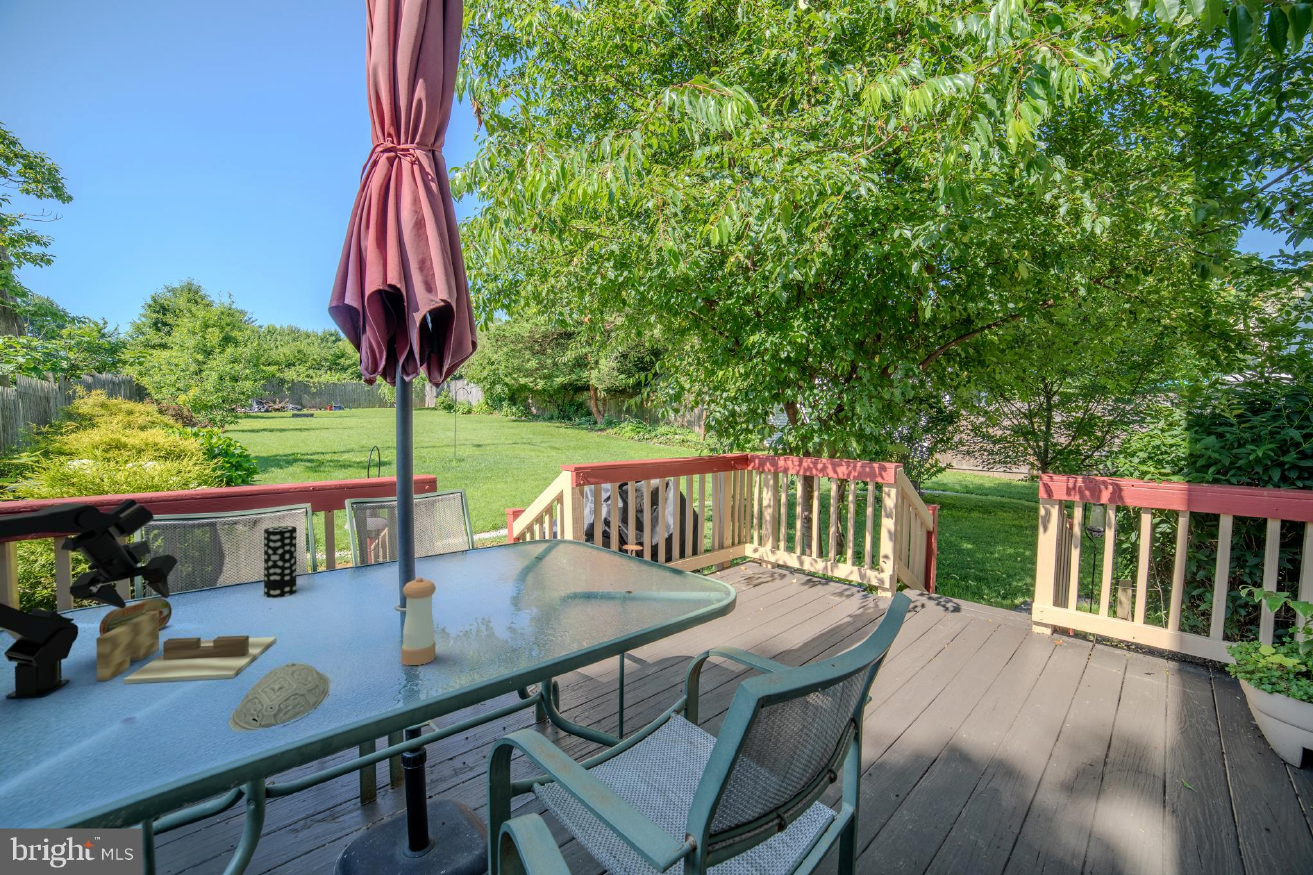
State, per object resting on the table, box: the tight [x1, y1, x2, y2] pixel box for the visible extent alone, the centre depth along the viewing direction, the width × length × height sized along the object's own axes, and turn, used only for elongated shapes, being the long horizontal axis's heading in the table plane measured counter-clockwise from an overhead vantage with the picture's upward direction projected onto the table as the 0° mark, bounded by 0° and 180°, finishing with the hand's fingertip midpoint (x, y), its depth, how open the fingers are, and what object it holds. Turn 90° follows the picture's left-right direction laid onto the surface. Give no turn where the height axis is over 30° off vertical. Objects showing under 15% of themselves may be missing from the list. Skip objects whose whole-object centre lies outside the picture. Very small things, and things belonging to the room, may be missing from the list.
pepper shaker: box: [400, 576, 437, 666], centre depth 133 cm, size 7×7×19 cm
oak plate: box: [95, 611, 160, 682], centre depth 127 cm, size 16×2×9 cm, turn 11°
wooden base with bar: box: [123, 635, 277, 685], centre depth 130 cm, size 20×20×5 cm
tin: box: [98, 597, 173, 637], centre depth 142 cm, size 15×3×8 cm, turn 168°
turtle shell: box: [228, 661, 331, 732], centre depth 114 cm, size 16×25×7 cm, turn 17°
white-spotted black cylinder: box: [263, 525, 298, 599], centre depth 177 cm, size 8×8×20 cm
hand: (146, 601), depth 133 cm, fingers open, 9 cm apart
